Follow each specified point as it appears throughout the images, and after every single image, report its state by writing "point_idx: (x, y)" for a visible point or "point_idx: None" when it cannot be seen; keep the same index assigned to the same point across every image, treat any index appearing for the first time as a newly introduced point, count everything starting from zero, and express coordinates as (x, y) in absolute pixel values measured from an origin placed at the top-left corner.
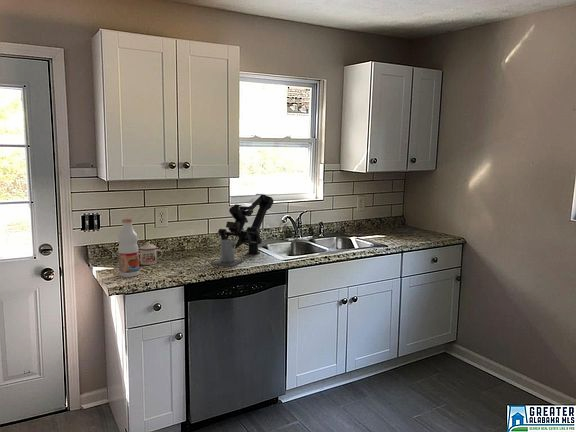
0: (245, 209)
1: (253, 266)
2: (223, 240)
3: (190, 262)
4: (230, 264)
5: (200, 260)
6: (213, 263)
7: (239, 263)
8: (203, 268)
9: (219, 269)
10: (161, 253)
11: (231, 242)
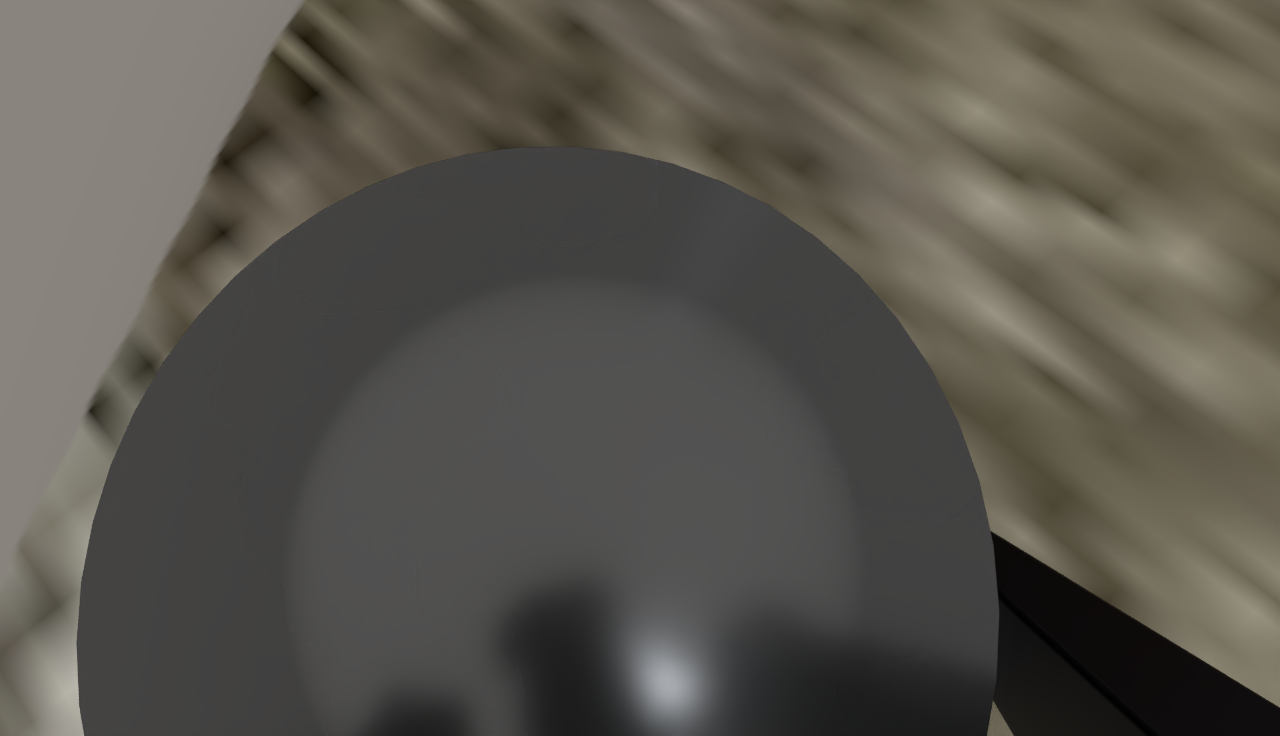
0: None
1: (61, 685)
2: (710, 369)
3: (1212, 97)
4: None
5: (1235, 317)
6: None
7: None
8: (683, 6)
9: (433, 131)
10: None
11: (148, 501)
